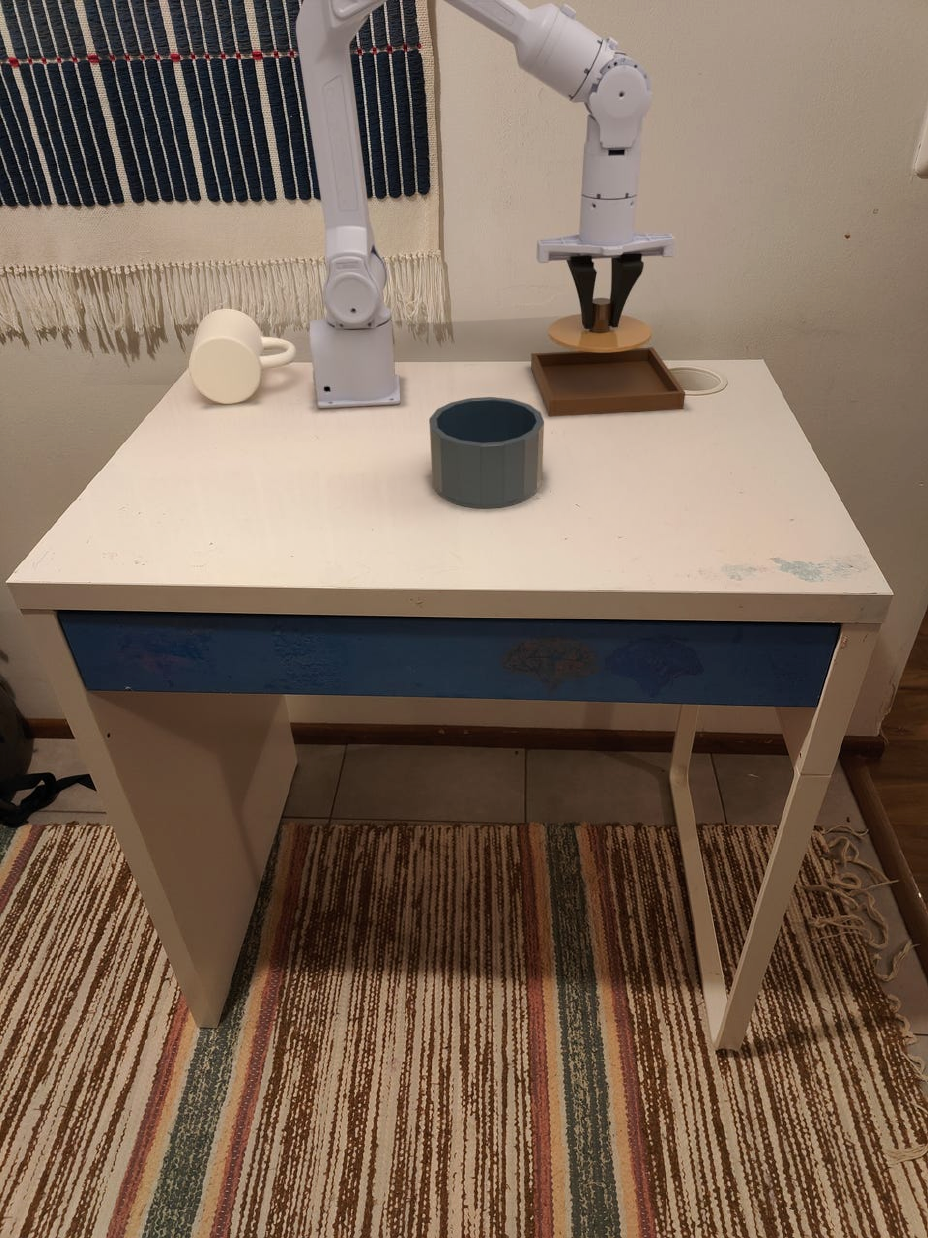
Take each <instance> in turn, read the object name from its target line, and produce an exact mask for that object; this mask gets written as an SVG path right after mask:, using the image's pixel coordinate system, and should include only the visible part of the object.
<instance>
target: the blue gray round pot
mask: <svg viewBox="0 0 928 1238" xmlns="http://www.w3.org/2000/svg"><path fill="white" fill-rule="evenodd" d="M428 423H429V440H430V441H429V442H430V443H429V444H430V461H431V463H430V464H431V478H432V486H433V489H434V491H435V492H436V493H437V495H439V496H440V497H441V498H443V499H444V500H446V501H447V502H450V503H452V504H455V505H459V506H462V507H467V508H474V509H475V508H476V509H497V508H504V507H509V506H514V505H517V504H520V503H522V502H524V501H527V500H528V499H530V498H531V497H532V496H534V495H535V494H536V493H537V492H538V490H539V489H540V487H541V484H542V480H543V460H544V438H545V437H544V436H545V420H544V418H543V416H542V413H541V411H540V410H537V409H536V408H535V407H533V406H532V405H531V404H529V403H526V402H523V401H519V400H517V399H513V398H506V397H496V396H484V397H471V398H465V399H461V400H460V399H459V400H455V401H451V402H449V403H446V404H445V405H443V406H441V407H439V408H437V409H435V411H434V412H433V414H431V416H430V418H429V419H428Z"/></svg>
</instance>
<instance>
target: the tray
mask: <svg viewBox="0 0 928 1238" xmlns="http://www.w3.org/2000/svg"><path fill="white" fill-rule="evenodd" d="M530 355H531V356H530V369H531V372H532V375H533V377H534V380H535V382H536V385H537V388H538V391H539V393H540V396H541V399H542V401H543V404H544V406H545V410H546V412H547V414H548V417H559V416H561V417H562V416H577V415H578V416H579V415H595V414H597V415H598V414H612V413H613V414H614V413H630V412H631V413H633V412H649V411H666V410H667V411H668V410H669V411H670V410H684V405H685V399H686V391H685V390H684V389H683V387H682V386H681V385H680V383H679V382H678V380H677V378H675V376H674V375H673V373H672V372H671V371H670V369H669V368H668V366H667V365H666V363H665V362H664V360H663V359H662V358H661V357H660V355H659V353H658V352H657V351H656V349H655V348H654V346H650V347H649V346H648V347H647V346H646V347H638V348H635V349H631V350H627V351H620V352H610V353H595V352H584V351H578V350H571V351H554V352H552V351H551V352H535V353H534V352H533V353H531V354H530Z"/></svg>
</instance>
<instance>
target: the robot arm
mask: <svg viewBox="0 0 928 1238" xmlns="http://www.w3.org/2000/svg"><path fill="white" fill-rule="evenodd" d="M387 2H388V0H303V2H302V4H301V7H300V9H299V11H298V15H297V17H296V21H295V35H296V42H297V49H298V56H299V62H300V68H301V69H300V70H301V75H302V81H303V88H304V94H305V95H304V96H305V101H306V109H307V115H308V120H309V128H310V134H311V135H310V136H311V142H312V149H313V155H314V162H315V169H316V174H317V175H316V176H317V181H318V188H319V194H320V201H321V208H322V214H323V222H324V227H325V250H324V253H325V255H324V257H325V265H326V276H325V280H324V283H323V285H322V291H321V298H322V303H323V306H324V308H325V310H326V312H327V313H326V314H325V316H326V317H323V318H319V319H312V320H310V321H309V344H310V345H309V346H310V353H311V362H312V369H313V370H312V377H313V384H314V386H315V392H316V399H317V407H318V408H319V409H331V408H349V407H367V406H369V407H370V406H384V405H398V404H401V388H400V385H401V384H400V375H399V374H396V366H395V364H396V363H395V353H394V351H395V350H394V339H393V338H394V337H393V325H392V313H391V309H390V308H389V307H388V306H387V304H385V302H384V300H383V292H384V289H385V287H386V285H387V281H388V270H387V266H386V263H385V261H384V259H383V258H382V256H381V254H380V252H379V251H378V248H377V245H376V240H375V234H374V230H373V227H372V223H371V217H370V211H369V210H370V209H369V202H368V194H367V193H368V192H367V185H366V177H365V167H364V160H363V152H362V144H361V135H360V128H359V126H360V125H359V118H358V110H357V109H358V108H357V102H356V94H355V85H354V78H353V69H352V68H353V67H352V61H351V60H352V59H351V52H350V51H351V50H350V45H351V42H352V41H353V39H354V38H355V37H356V35H357V34H358V32H359V31H360V30H361V28H362V27H363V26H364V24H365V23H366V22H367V20H368V18H369V15H370V14H371V13H372V12H374V11H375V10H376V9H378V8H379V7H381V6H382V5H384V4H385V3H387ZM443 2H445V3H447V4H448V5H450V6H452V7H453V8H455V9H456V10H458V11H459V12H461V13H463V14H464V15H466V16H468V17H469V18H471V19H472V20H474V21H476V22H478V23H479V24H480V25H482V26H484V27H486V29H489V30H490V31H492V32H493V33H495V34H497V35H498V36H499V37H502V38H503V39H505V40H506V41H508V42H509V43H511V44H512V45H513V47H514V50H515V56H516V61H517V65H518V67H519V68H520V69H521V70H522V71H524V72H525V73H527V74H529V75H530V76H531V77H534V79H536V80H538V81H539V82H540V83H542V84H544V85H545V86H547V87H548V88H550V90H553V91H555V92H556V93H557V94H559V95H560V96H562V97H563V98H565V99H567V100H568V101H569V102H571V103H572V104H579V103H583V105H584V107H585V109H586V111H587V112H588V113H589V114H587V120H586V123H587V124H586V137H585V142H584V144H583V157H582V176H581V177H582V178H581V192H580V193H581V194H580V208H579V209H580V210H579V211H580V212H579V227H578V228H579V229H578V234H573V235H566V236H560V237H553V238H543V239H536V260H537V262H538V264H548V263H550V262H552V261H553V262H556V261H558V262H559V261H566V263H567V267H568V268H569V271H570V274H571V276H572V279H573V282H574V286H575V290H576V292H577V296H578V301H579V307H580V314H581V315H582V324H583V326H584V328H585V329H591V328H592V317H593V299H594V293H595V285H596V279H597V274H598V271H597V270H596V269H595V262H594V261H593V260H597V259H598V260H599V259H610V262H611V263H610V264H611V266H610V267H611V269H610V270H611V271H610V272H611V273H610V274H611V279H610V294H609V295H610V296H609V299H611V300H612V315H611V327H612V328H614V327H618V324H619V320H620V317H621V315H622V313H623V311H624V308H625V305H626V302H627V300H628V297H629V295H630V294H631V291H632V290H633V288H634V286H635V284H636V283H637V281H638V280H639V278H640V277H641V275H642V273H643V272H644V267H645V266H644V265H645V263H644V262H643V260H642V257H659V256H660V257H662V258H673V257H674V250H675V243H676V237H674V236H673V235H672V234H671V233H649V232H648V233H645V232H635V222H636V221H635V220H636V211H637V202H638V201H637V198H638V190H639V189H638V188H639V179H640V170H641V169H640V168H641V167H640V166H641V155H642V147H643V146H642V142H641V141H642V133H643V119H644V117H646V115H647V113H648V111H649V110H650V107H651V105H652V103H653V102H652V101H653V98H654V93H653V92H651V82H650V81H651V80H650V77H649V76H648V73H647V71H646V69H645V68H644V67H643V65H642V64H640V63H639V62H638V61H636V60H635V59H633V58H631V57H630V56H628V54H627V53H626V52H625V51H622V50H617V48H618V47H619V46H618V45H619V42H618V41H617V40H615V39H614V38H612V37H611V36H608V37H607V38H606V39H604V38H602V37H601V36H599V35H598V34H597V33H595V32H594V31H592V30H591V29H589V28H588V27H587V26H585V25H584V24H582V23H581V22H580V21H578V20H577V19H575V16H576V14H577V11H576V10H575V9H574V8H572V7H571V6H569V5H568V4H567V3H563V4H562V5H561V7H560V8H559V7H558V6H556V5H555V4H554V3H552V2H549V3H544V4H542V5H539V6H538V7H534V8H529V7H527V6H526V5H524V4H523V3H521V2H520V1H518V0H443Z"/></svg>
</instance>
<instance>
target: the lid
mask: <svg viewBox="0 0 928 1238" xmlns="http://www.w3.org/2000/svg"><path fill="white" fill-rule="evenodd" d="M611 315H612V300H611V299H610V298H607V297H595V298H593V317H592V328H591V329H585V328H584V326H583V324H582V315H581V313H577V314H571V315H568V316H564V317H561V318H559V319H556V320H555V321H553V322H552V323H551V324H550V325H549V326H548V328H547V336H548V338H549V339H550V341H552V342H553V343H554V344H556V345H558V346H560V347H563V348H566V349H569V350H572V351H584V352H595V353H610V352H620V351H627V350H631V349H635V348H641V347H642V346H644V345H646V344H647V343H649V341H650V340H651V338H652V333H653V332H652V328H651V327H650V325H648V324H647V323H646V322H645V321H642V320H641V319H638V318H635V317H631V316H628V315H623V314H621V317H620V320H619V324H618V327H614V328H612V327H611Z"/></svg>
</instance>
